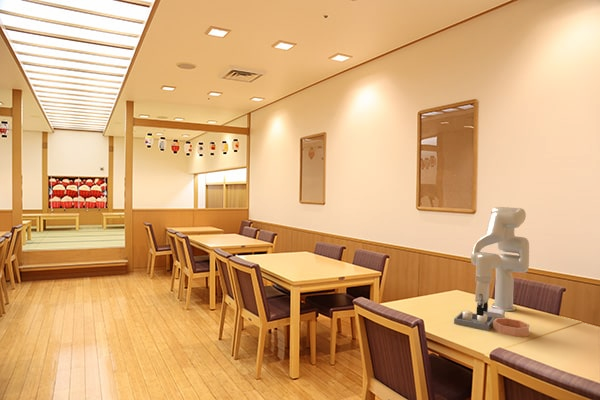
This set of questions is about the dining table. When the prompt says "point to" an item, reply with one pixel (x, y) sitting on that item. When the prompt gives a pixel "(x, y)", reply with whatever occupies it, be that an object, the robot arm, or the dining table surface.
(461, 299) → the dining table surface
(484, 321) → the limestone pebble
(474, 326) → the parts tray
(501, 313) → the charger
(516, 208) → the robot arm
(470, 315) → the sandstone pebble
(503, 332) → the bowl
